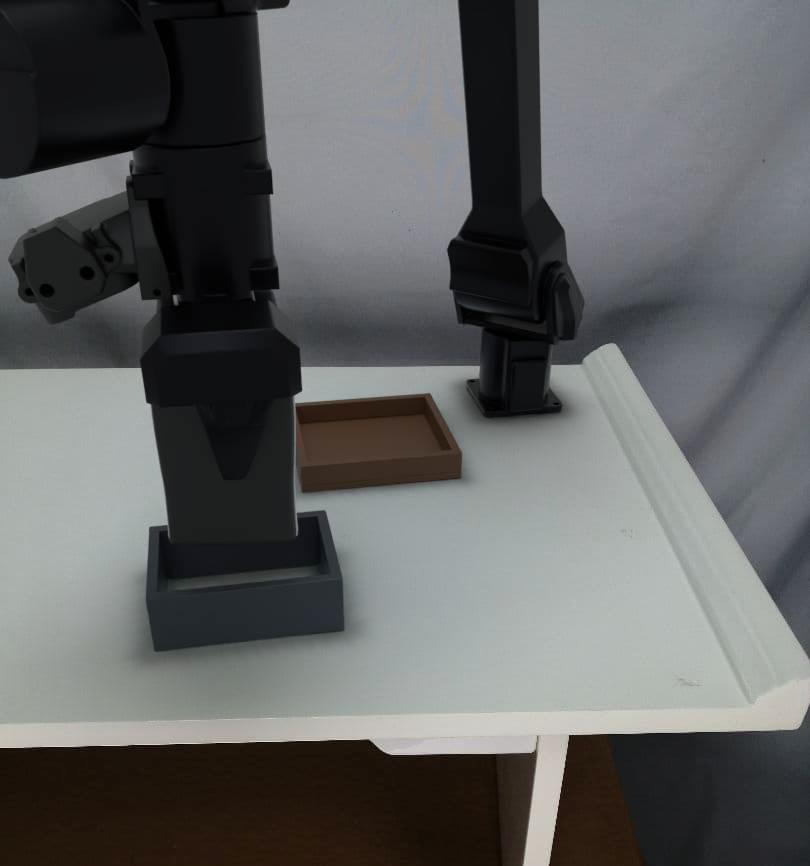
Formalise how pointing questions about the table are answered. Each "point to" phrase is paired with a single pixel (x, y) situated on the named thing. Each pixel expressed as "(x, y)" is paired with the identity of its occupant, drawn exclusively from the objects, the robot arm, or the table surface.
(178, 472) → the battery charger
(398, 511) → the table surface
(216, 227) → the robot arm
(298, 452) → the tray
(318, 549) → the dock
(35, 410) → the table surface
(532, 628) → the table surface
